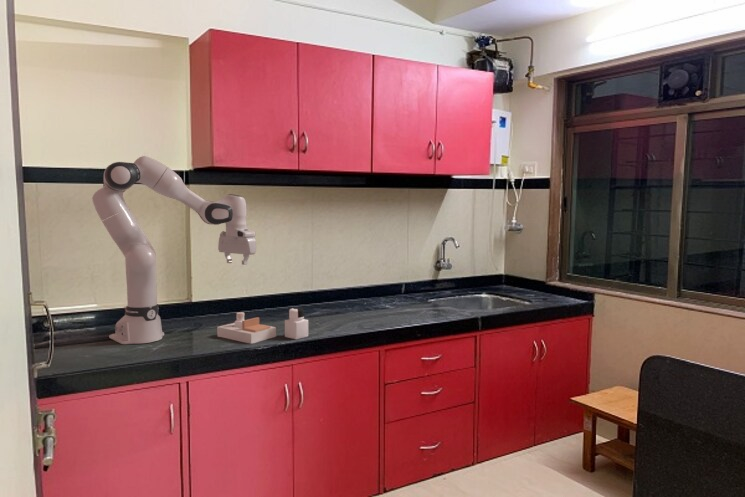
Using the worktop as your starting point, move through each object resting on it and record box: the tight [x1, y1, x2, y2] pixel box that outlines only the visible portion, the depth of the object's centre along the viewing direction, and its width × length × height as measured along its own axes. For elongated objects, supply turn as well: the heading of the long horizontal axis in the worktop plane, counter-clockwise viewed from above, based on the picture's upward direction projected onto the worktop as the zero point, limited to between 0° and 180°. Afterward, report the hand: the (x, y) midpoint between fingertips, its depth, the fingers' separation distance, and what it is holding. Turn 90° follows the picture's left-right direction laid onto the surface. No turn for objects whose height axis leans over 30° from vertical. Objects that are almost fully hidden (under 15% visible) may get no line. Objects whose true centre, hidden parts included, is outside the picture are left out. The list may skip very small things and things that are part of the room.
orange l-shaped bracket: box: [242, 316, 271, 332], centre depth 228 cm, size 8×8×4 cm
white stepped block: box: [284, 307, 309, 340], centre depth 232 cm, size 7×7×12 cm
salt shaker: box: [234, 311, 245, 328], centre depth 234 cm, size 4×4×10 cm
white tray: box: [216, 322, 277, 344], centre depth 232 cm, size 20×14×4 cm
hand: (236, 263), depth 241 cm, fingers open, 8 cm apart
